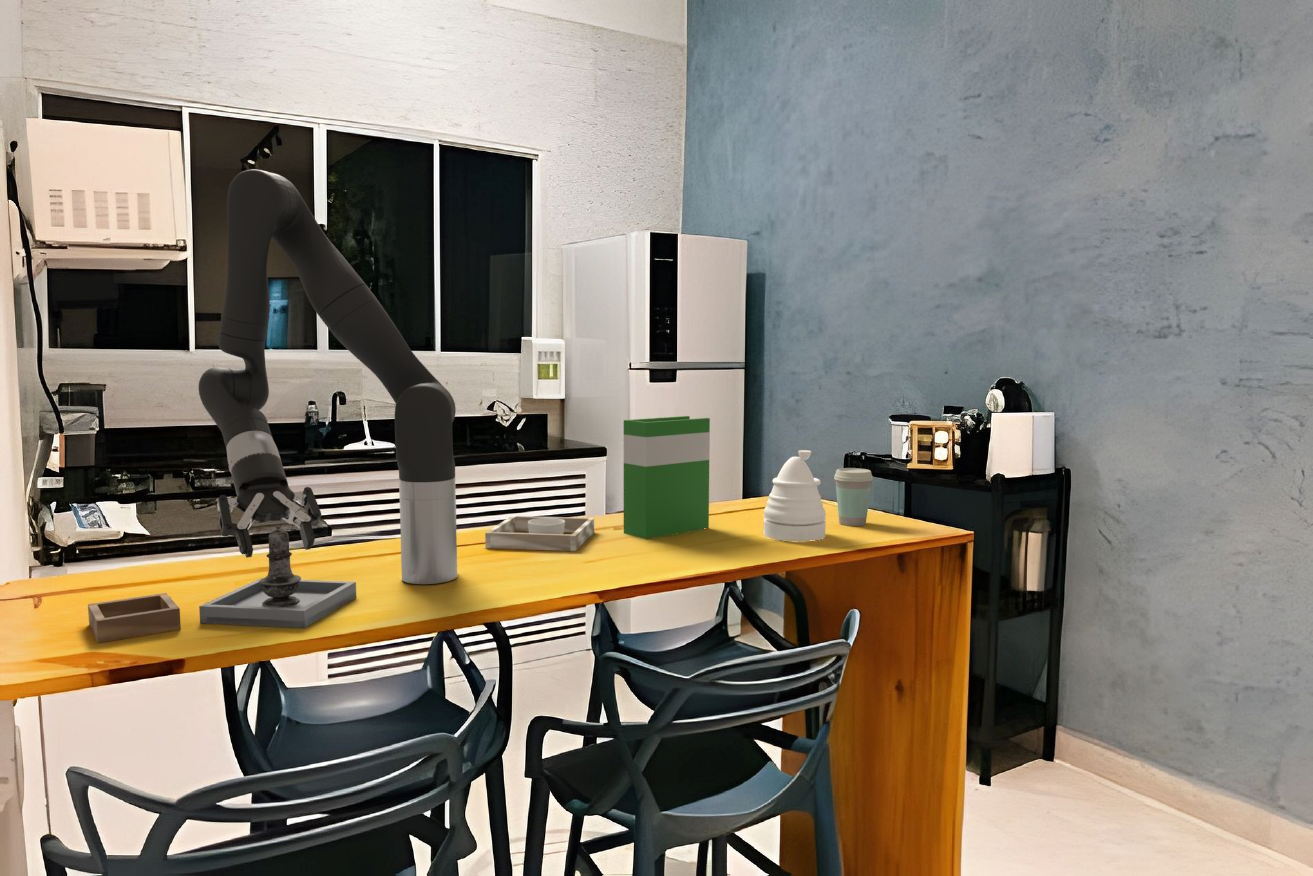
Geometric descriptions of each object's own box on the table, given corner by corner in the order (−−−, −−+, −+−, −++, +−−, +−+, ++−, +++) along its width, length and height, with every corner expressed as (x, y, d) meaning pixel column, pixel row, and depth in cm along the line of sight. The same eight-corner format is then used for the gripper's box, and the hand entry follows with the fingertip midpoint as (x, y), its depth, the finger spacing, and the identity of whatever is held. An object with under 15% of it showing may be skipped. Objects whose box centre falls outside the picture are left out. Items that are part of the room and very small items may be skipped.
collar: (89, 624, 133) (87, 604, 132) (167, 612, 139) (166, 592, 138) (98, 643, 125) (96, 621, 125) (180, 629, 131) (179, 608, 131)
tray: (261, 593, 149) (261, 578, 149) (356, 597, 147) (355, 581, 147) (200, 623, 134) (199, 606, 133) (304, 628, 132) (304, 610, 131)
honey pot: (834, 533, 197) (836, 449, 196) (812, 545, 186) (813, 455, 185) (777, 527, 204) (779, 445, 202) (753, 537, 193) (754, 451, 191)
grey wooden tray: (512, 529, 200) (511, 515, 200) (594, 532, 198) (594, 518, 198) (485, 548, 183) (485, 532, 182) (575, 551, 180) (575, 535, 180)
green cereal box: (686, 523, 208) (686, 416, 206) (708, 528, 203) (709, 418, 200) (623, 533, 197) (623, 420, 194) (645, 539, 191) (645, 422, 189)
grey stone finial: (285, 595, 145) (282, 519, 143) (310, 601, 142) (307, 523, 140) (251, 604, 140) (248, 525, 138) (276, 610, 137) (273, 529, 135)
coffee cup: (866, 519, 213) (867, 467, 211) (876, 527, 204) (878, 473, 203) (829, 520, 212) (830, 467, 211) (837, 527, 204) (839, 473, 203)
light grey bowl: (567, 550, 182) (567, 526, 181) (517, 549, 182) (516, 525, 182) (574, 539, 192) (574, 516, 191) (526, 538, 192) (526, 516, 192)
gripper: (210, 454, 141) (232, 542, 133) (306, 448, 149) (333, 530, 141) (204, 485, 145) (225, 571, 138) (298, 477, 154) (323, 557, 146)
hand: (280, 550), depth 140 cm, fingers open, 8 cm apart
